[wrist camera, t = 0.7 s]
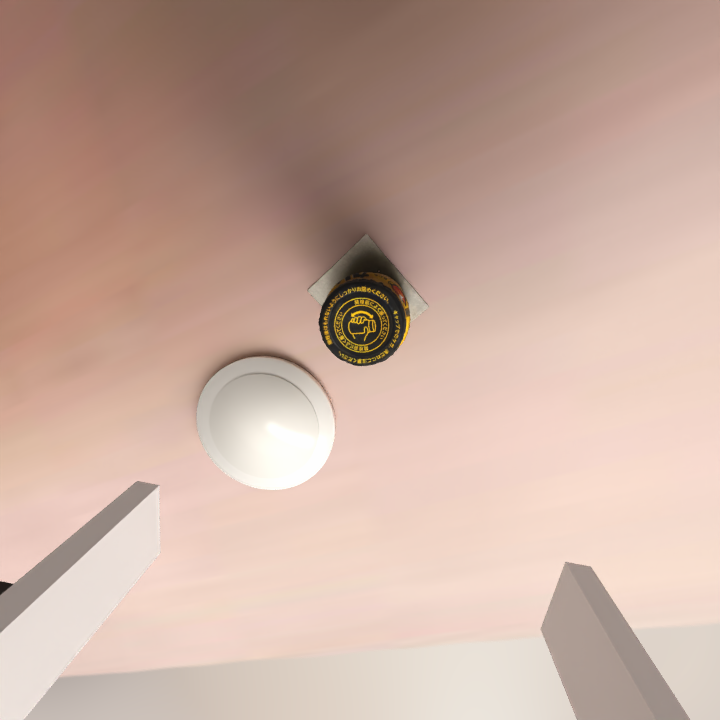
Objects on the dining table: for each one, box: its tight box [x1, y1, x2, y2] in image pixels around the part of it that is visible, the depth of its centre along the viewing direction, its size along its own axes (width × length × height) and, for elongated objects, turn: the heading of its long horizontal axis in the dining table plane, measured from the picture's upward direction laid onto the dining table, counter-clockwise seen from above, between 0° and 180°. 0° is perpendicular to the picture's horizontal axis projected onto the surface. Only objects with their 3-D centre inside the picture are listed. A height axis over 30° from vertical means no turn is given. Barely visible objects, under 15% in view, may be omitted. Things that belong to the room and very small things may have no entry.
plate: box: [196, 356, 336, 490], centre depth 35 cm, size 14×14×1 cm
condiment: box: [308, 234, 429, 366], centre depth 26 cm, size 7×8×12 cm
